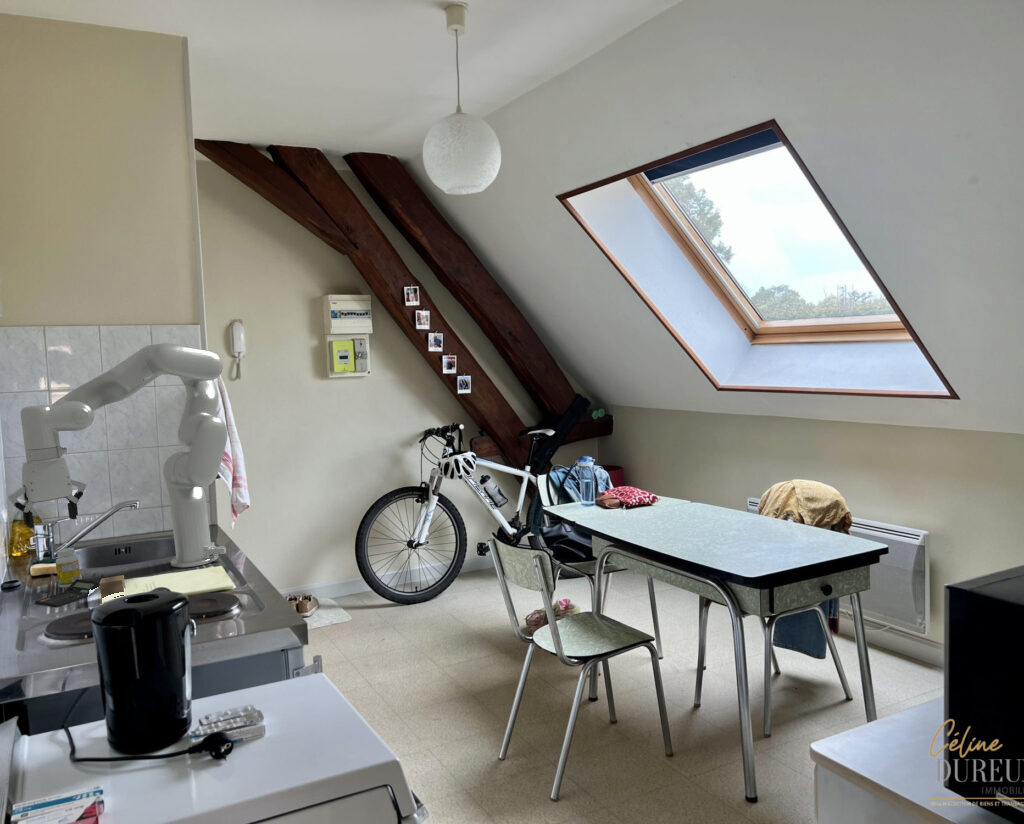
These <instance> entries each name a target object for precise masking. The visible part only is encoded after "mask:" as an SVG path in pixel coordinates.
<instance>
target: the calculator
mask: <svg viewBox="0 0 1024 824" xmlns="http://www.w3.org/2000/svg"><path fill="white" fill-rule="evenodd" d="M99 583H100V581H93V580H85V579H81V580H79V579H76V580H75V581H74V582H73V583H72V584H71V585H70V586H69V587H66V588H65V590H64V591H62V592H59V593H56V594H53V595H49V596H47V597H44V598H41V599H39V600H38V599H37V600H35V601H34V603H35V605H42V606H47V607H55V608H59V607H62V606H65V605H66V606H67V605H69V604H72V603H75V602H77V601H81V600H83V599H86V598H89V597H88V594H89V590H90V589H91V590H93V589H95V588H97V587H99V586H100V585H99ZM99 588H100V587H99Z"/></svg>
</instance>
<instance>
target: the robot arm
mask: <svg viewBox="0 0 1024 824" xmlns="http://www.w3.org/2000/svg"><path fill="white" fill-rule="evenodd" d="M223 364H224V363H223V361H222V359H221V357H220V356H219V355H218V354H217V353H216V352H213V351H211V350H207V349H203V348H196V347H191V346H190V347H189V346H185V345H179V344H174V343H167V342H162V343H155V344H154V343H153V344H149V345H148V344H147V345H146V346H144V347H142V348H140V349H139V350H138V351H136V352H134V353H133V354H131V355H130V356H128V357H127V358H125V359H124V360H122V361H121V362H119V363H118V364H116V365H115V366H113V367H112V368H111V369H109V370H107V371H106V372H104V373H102V374H99V375H98V376H97V377H94V378H92V379H91V380H89V381H86V382H85V383H83V384H82V385H80V386H77V387H76V388H74V389H72V390H71V391H69V392H68V393H66V394H65V395H63V396H61V398H59V399H57V400H56V401H55V402H53V403H52V404H40V405H39V404H36V405H30V406H24V407H23V408H21V410H20V421H21V428H22V435H23V445H24V452H25V460H26V462H23V463H22V467H21V487H20V488H19V489H17V490H15V491H14V492H12V493H11V494H10V495H8V496H7V499H8V501H10V503H11V504H12V505H13V507H15V508H16V509H18V510H19V511H21V512H22V516H23V523H24V525H25V526H26V527H27V528H29V529H33V528H35V523H34V516H33V515H34V514H33V511H31V509H32V508H33V506H34V505H35V504H36V503H42V502H43V503H44V502H48V501H49V502H50V501H54V500H55V501H56V500H60V499H66V500H67V501H68V503H67V510H68V518H69V519H70V520H71V519H72V520H77V516H78V515H79V512H78V511H79V509H78V503H79V500H80V499H81V498H82V497H83V495H84V492H85V490H86V487H87V484H86V483H83V482H80V481H76V480H73V479H71V475H70V471H69V467H68V464H67V462H66V459H65V457H63V454H64V453H67V452H68V449H67V447H63V446H61V442H60V435H59V432H79V431H83V430H85V429H87V428H89V427H90V426H91V425H92V423H93V422H94V419H95V413H94V411H97V410H98V409H100V408H102V407H106V406H107V405H111V404H114V403H118V402H121V401H123V400H126V399H128V398H130V397H132V396H133V395H134V394H136V393H137V392H138V391H140V390H141V389H142V388H144V387H146V386H147V385H148V384H150V383H152V382H153V381H154V380H156V379H157V378H159V377H160V376H162V375H163V376H165V375H170V376H176V377H178V378H179V379H180V380H181V382H182V383H183V384H184V387H185V390H186V397H185V398H186V399H185V404H184V408H183V412H182V414H181V418H180V422H179V425H178V430H177V439H178V441H179V443H180V444H182V445H183V446H184V447H187V448H190V450H189V451H178V452H175V453H172V454H171V455H170V456H168V457H167V458H166V460H165V462H164V464H163V467H162V468H163V469H162V470H163V478H164V482H165V485H166V488H167V492H168V493H167V494H168V497H169V505H170V516H171V522H172V531H173V532H172V533H173V541H174V542H173V543H174V548H175V557H174V558H172V559H171V560H170V566H172V567H174V568H190V567H198V566H202V565H207V564H210V563H213V562H215V561H217V559H219V555H224V554H227V548H226V546H224V545H220V546H217V545H215V541H211V531H210V524H209V522H210V521H209V514H208V503H207V502H208V501H207V497H206V493H205V491H206V490H205V489H204V488H205V487H208V486H210V485H211V484H212V483H213V482H214V481H215V480H216V478H217V477H218V475H219V472H220V468H221V465H222V461H223V457H224V454H225V450H226V445H227V441H228V429H227V425H226V423H225V422H224V420H222V418H221V417H219V416H216V413H217V408H218V403H219V393H218V388H217V386H216V383H215V380H216V379H217V378H219V377H220V375H221V374H222V373H223V369H224V365H223ZM73 486H74V487H77V490H76V492H75V493H74V495H73ZM20 496H22V498H23V501H24V503H23V504H22V503H21V502H20V501H19V500H18V498H20Z"/></svg>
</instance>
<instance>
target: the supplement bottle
mask: <svg viewBox="0 0 1024 824" xmlns="http://www.w3.org/2000/svg"><path fill="white" fill-rule="evenodd" d="M56 552H57V553H56V554H57V557H58V558H56V560H55V569H56V576H57V583H58V587H59V588H65V589H66V588H68V587H69V586H70V585H71V584H72V583H73V582H74V581H75V580H76V579H79V580H82V576H81V568H80V561H79V560H80V559H79V556H77V555H75V553H76V551H75V548H74V547H65V548H61V549H58V550H57V551H56Z"/></svg>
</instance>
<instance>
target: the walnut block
mask: <svg viewBox="0 0 1024 824" xmlns="http://www.w3.org/2000/svg"><path fill="white" fill-rule="evenodd" d="M99 582H100V583H99V585H100V587H99V592H100V599H102V598H104V597H106V596H108V595H111V594H114V593H119V592H124V588H125V589H126V581H125V575H124V574H122V575H116V576H114V575H113V576H110V577H109V576H108V577H102V578H101V579H100V581H99ZM120 596H124V595H120ZM117 597H119V596H117ZM114 598H116V597H114Z"/></svg>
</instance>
